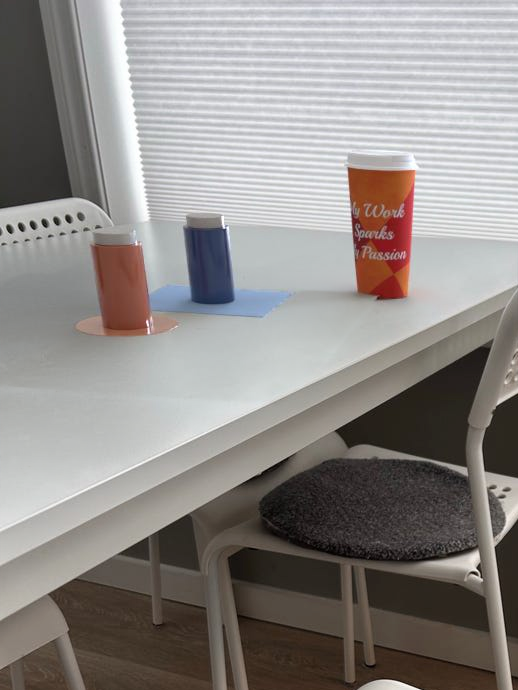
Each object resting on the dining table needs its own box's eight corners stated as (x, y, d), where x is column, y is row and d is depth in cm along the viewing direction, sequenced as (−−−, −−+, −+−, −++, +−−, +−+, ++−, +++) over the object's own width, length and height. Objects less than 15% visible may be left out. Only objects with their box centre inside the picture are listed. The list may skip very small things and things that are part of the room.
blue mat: (123, 312, 93) (122, 308, 92) (167, 288, 103) (167, 284, 103) (263, 321, 92) (263, 316, 92) (294, 296, 102) (294, 292, 102)
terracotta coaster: (58, 337, 84) (57, 332, 84) (101, 315, 91) (100, 310, 91) (157, 343, 83) (157, 338, 83) (192, 320, 91) (192, 316, 91)
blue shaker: (184, 302, 96) (174, 216, 91) (199, 294, 99) (190, 211, 95) (227, 305, 95) (219, 219, 91) (240, 296, 99) (233, 213, 95)
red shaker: (94, 328, 85) (78, 232, 81) (114, 317, 89) (100, 225, 85) (141, 331, 85) (128, 235, 81) (159, 320, 89) (147, 228, 85)
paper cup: (336, 296, 103) (331, 152, 96) (364, 284, 109) (361, 147, 102) (403, 303, 101) (403, 157, 94) (428, 290, 107) (430, 152, 100)
